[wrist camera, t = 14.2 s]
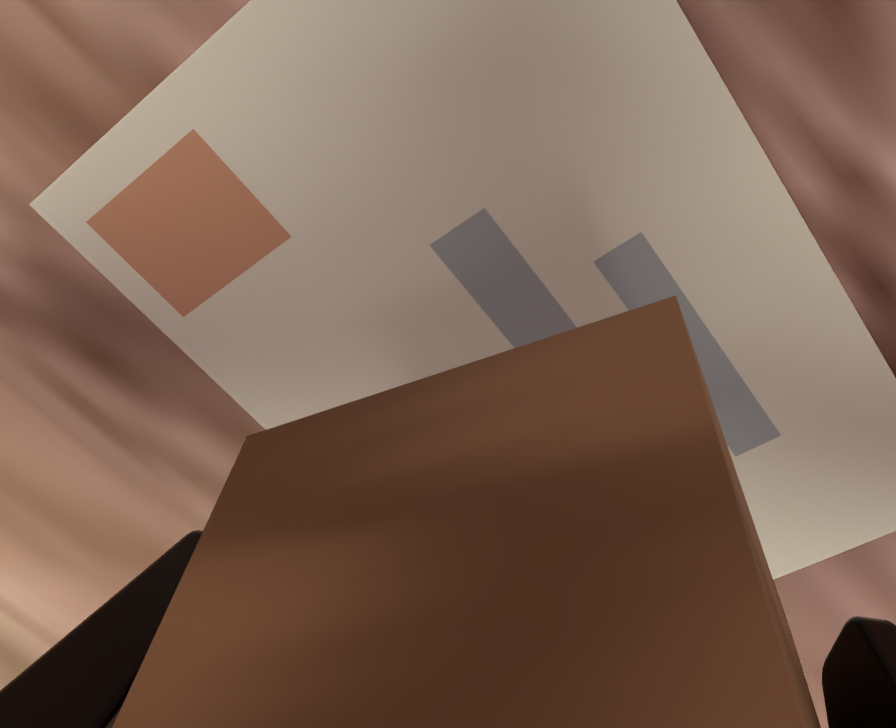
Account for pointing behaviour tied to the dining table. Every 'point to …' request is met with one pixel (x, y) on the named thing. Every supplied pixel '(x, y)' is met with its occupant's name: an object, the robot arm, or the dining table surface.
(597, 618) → the walnut cube
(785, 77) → the dining table surface
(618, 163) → the letter
